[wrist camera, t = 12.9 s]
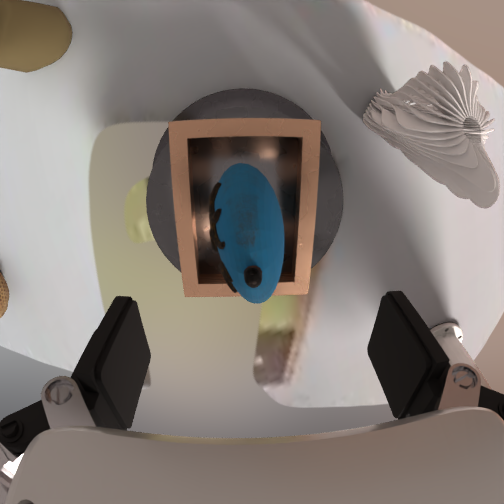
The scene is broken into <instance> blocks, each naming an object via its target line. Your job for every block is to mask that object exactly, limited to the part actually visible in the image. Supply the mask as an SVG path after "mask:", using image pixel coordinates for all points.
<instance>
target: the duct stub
mask: <svg viewBox="0 0 504 504" xmlns="http://www.w3.org/2000/svg"><path fill="white" fill-rule="evenodd" d="M168 124H169V127H168V128H167V130H166V131H165V133H164V135H163V136H162V138H161V140H160V143H159V145H158V148H157V150H156V153H155V157H154V162H153V169H152V171H151V174H150V178H149V182H148V186H147V196H146V205H147V215H148V220H149V225H150V228H151V231H152V234H153V236H154V238H155V240H156V242H157V244H158V246H159V248H160V249H161V251H162V252H163V254H164V255H165V256H166V257H167V259H168V260H169V261H170V262H171V263H172V264H173V265H174V266H175V267H176V268H177V269H178V270H179V271H180V272H181V273H182V280H183V287H184V294H185V297H222V296H223V297H226V296H241V295H240V294H239V292H237V293H234V292H232V290H231V289H230V288H229V286H228V285H227V283H226V281H225V279H224V277H223V275H222V273H221V271H220V269H219V267H218V266H219V263H220V262H221V258H220V255H219V252H216V251H214V250H213V248H212V245H211V240H210V235H209V230H210V222H209V197H210V193H211V192H212V190H213V188H214V186H215V184H216V183H218V182H219V180H220V178H221V176H222V175H223V173H224V172H225V171H226V170H227V169H228V168H229V167H230V166H232V165H235V164H238V163H245V164H249V165H251V166H253V167H255V168H257V169H258V170H259V171H260V172H261V173H262V174H263V175H264V176H265V177H266V178H267V180H268V181H269V183H270V185H271V186H272V188H273V190H274V192H275V195H276V197H277V200H278V203H279V206H280V210H281V213H282V219H283V224H284V240H285V241H284V258H283V264H282V270H281V275H280V278H279V281H278V284H277V286H276V289H275V290H274V292H273V294H272V295H298V294H308V290H309V281H310V272H311V268H312V267H314V266H315V265H316V264H317V263H318V262H319V261H320V259H321V258H322V257H323V256H324V254H325V253H326V252H327V250H328V249H329V247H330V245H331V244H332V242H333V240H334V238H335V236H336V233H337V231H338V228H339V225H340V221H341V216H342V210H343V190H342V183H341V179H340V174H339V171H338V169H337V166H336V164H335V161H334V159H333V158H332V155H331V151H330V148H329V145H328V143H327V141H326V138H325V136H324V135H323V133H322V131H321V121H320V120H313V119H312V118H311V117H310V116H309V115H308V114H307V113H306V112H305V111H304V110H303V109H301V108H300V107H298V106H297V105H296V104H294V103H293V102H291V101H289V100H287V99H285V98H283V97H281V96H279V95H276V94H273V93H270V92H266V91H261V90H256V89H233V90H226V91H222V92H217V93H214V94H212V95H209V96H206V97H204V98H202V99H200V100H198V101H197V102H195V103H193V104H192V105H190V106H189V107H188V108H186V109H185V110H184V111H182V112H181V113H180V114H179V115H178V116H177V117H176V118H175V119H174V120H173V121H172V122H168Z"/></svg>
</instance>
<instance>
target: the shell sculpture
mask: <svg viewBox="0 0 504 504" xmlns="http://www.w3.org/2000/svg"><path fill="white" fill-rule="evenodd" d="M478 84H479V83H478V81H472V76H471V72H470V69H469V67H468V66H467V65H463V66H462V69H461V71H460V72H459V73H458V72H457V70H456V69H455V68H454V67H453V66H452V65H451V64H450V63H449V62H447V61H446V62H444V63H443V72H441V71H440V70H439V69H438V68H437V67H435V66H434V65H431V66H430V68H429V72H428V74H427V73H426V72H424V71H420V72H419V73H418V74H417V76H416V77H415V78H411V79H410V80H409V81H408V82H407V83H406V84H405V85H404V86H403V87H401V88H400V89H399V90H397V91H396V92H395V93H393V94H391V93H387V91H386V90H385V93H384V92H383V91H382V89H381V88H380V91H381V94H379V93H378V92H376V93H377V96H378V97H375V96H374V99H375V101H376V102H377V103H376V102H374V101H373V100H371V101H372V103H373V104H374V105H372V104H371V103H370V104H369V105H370V106H368V107H367V108H368V109H367V110H366V111H365V112H366V113H364V115H363V117H364V118H363V122H364V124H365V125H366V126H367V127H368V128H369V129H371V130H372V131H374V132H375V133H377V134H378V135H380V136H381V137H382V138H384V139H385V140H386V141H387V142H388V143H389V144H390V145H391V146H393V147H395V148H397V149H400V150H401V151H402V153H403V154H404V155H405V156H406V157H407V158H408V159H409V160H410V161H412V162H413V163H414V164H415V165H417V166H418V167H419V168H421V169H422V170H423V171H424V172H425V173H426V174H428V175H429V176H430V177H431V178H432V179H434V180H435V181H437V182H439V183H441V184H443V185H446V186H447V188H448V189H449V190H450V191H451V192H452V193H453V194H454V195H456V196H457V197H459V198H463V199H470V200H471V201H472V202H473V203H474V204H475V205H477V206H478V207H480V208H489V207H491V206H492V205H493V204H494V203H495V202H496V201H497V199H498V196H499V192H500V182H499V178H498V175H497V173H496V171H495V168H494V166H493V164H492V163H491V161H490V159H489V157H488V155H487V153H486V151H485V148H484V143H485V142H486V140H485V139H488V136H487V135H483V134H485V133H489V132H491V131H494V129H488V130H482V129H484V128H485V127H487V126H488V125H490V124H491V123H493V122H494V121H495V119H492V120H490V121H487V119H488V118H489V115H490V114H489V112H488V111H486V112H485V109H484V108H483V107H482V106H481V105H480V104H479V102H478V100H477V96H476V92H477V89H478ZM403 100H404V101H403ZM407 101H410V102H408V103H407V104H406V103H405V102H407ZM413 102H415V103H416V104H414V105H410V103H413ZM398 104H399V105H398ZM430 104H432V105H430ZM427 105H430V106H427ZM376 107H377V108H378V109H379V110H380V111H382V112H380V111H379V110H378V109H377V108H376ZM379 112H380V113H379ZM486 121H487V122H486ZM473 130H474V131H473Z"/></svg>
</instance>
